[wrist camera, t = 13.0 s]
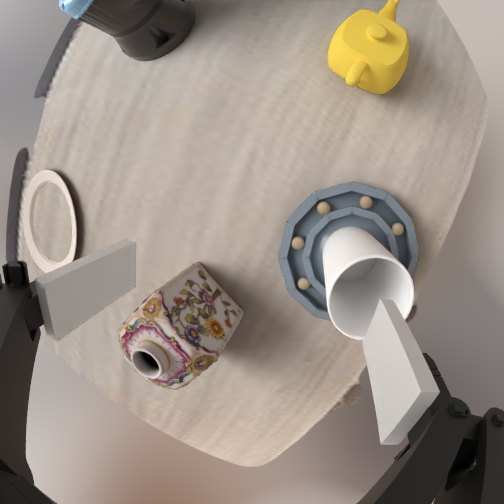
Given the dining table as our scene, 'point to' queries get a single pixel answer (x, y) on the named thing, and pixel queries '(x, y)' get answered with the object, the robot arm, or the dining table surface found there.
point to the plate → (29, 199)
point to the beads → (325, 208)
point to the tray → (323, 226)
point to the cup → (362, 280)
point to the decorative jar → (180, 329)
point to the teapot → (370, 49)
